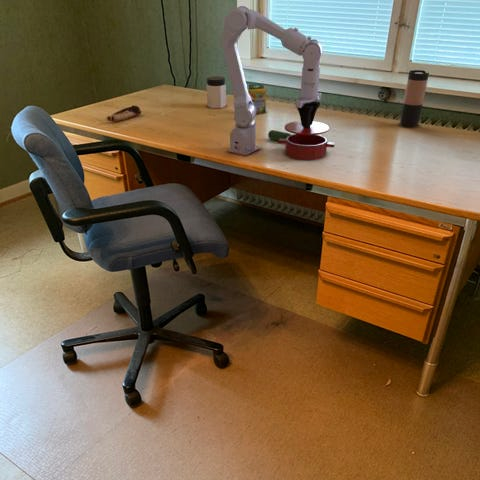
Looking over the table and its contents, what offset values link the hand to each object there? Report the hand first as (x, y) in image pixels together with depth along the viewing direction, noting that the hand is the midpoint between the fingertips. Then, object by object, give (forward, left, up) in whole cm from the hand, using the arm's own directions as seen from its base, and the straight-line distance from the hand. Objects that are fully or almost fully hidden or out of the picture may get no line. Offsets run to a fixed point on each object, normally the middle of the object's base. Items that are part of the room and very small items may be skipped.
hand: (306, 125), depth 170 cm
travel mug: (+55, -18, -10) cm, 59 cm away
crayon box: (+36, +45, -10) cm, 59 cm away
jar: (+35, +67, -10) cm, 76 cm away
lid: (0, 0, -1) cm, 1 cm away
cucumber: (+7, +15, -10) cm, 19 cm away
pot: (0, 0, -10) cm, 10 cm away
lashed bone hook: (-5, +88, -10) cm, 89 cm away
